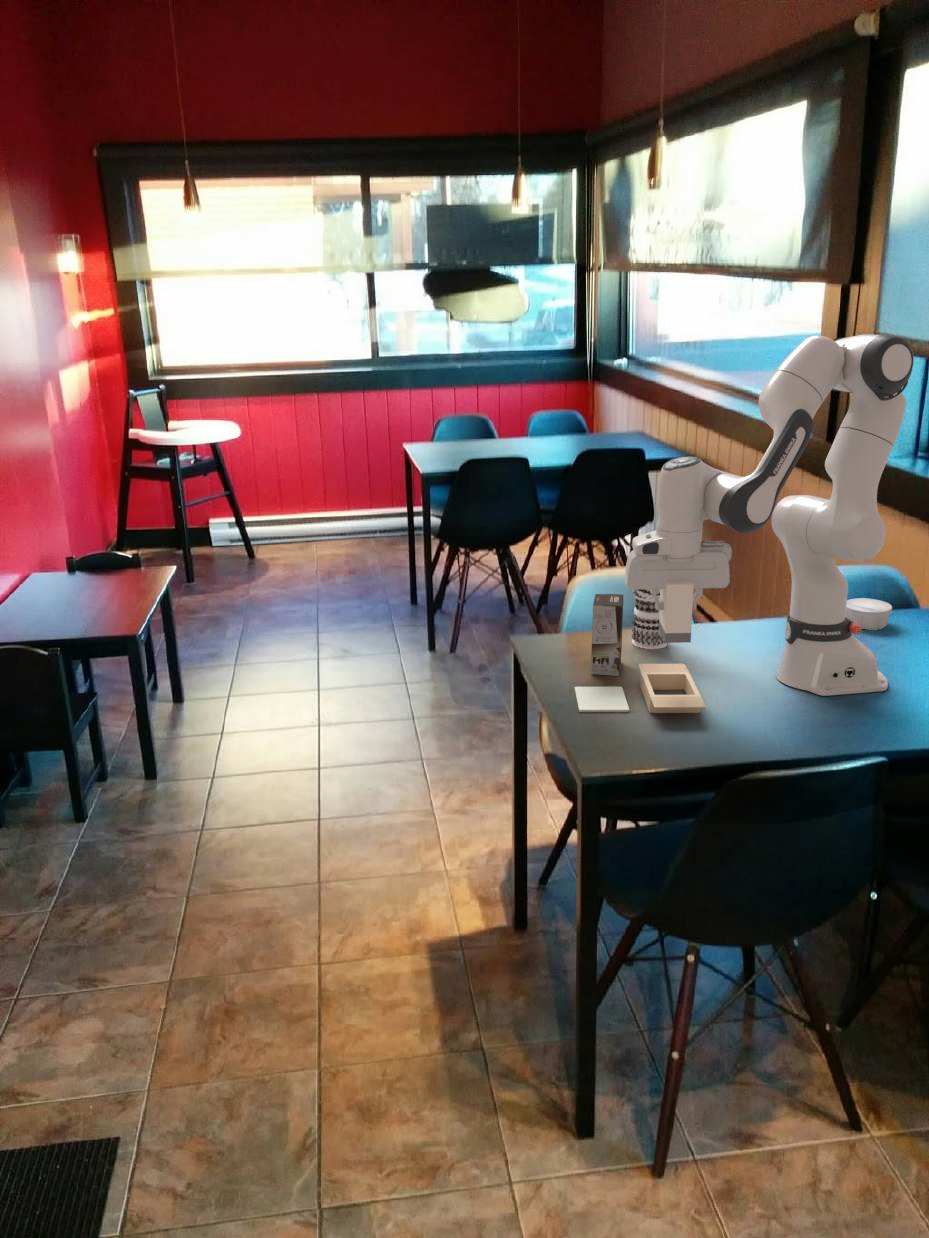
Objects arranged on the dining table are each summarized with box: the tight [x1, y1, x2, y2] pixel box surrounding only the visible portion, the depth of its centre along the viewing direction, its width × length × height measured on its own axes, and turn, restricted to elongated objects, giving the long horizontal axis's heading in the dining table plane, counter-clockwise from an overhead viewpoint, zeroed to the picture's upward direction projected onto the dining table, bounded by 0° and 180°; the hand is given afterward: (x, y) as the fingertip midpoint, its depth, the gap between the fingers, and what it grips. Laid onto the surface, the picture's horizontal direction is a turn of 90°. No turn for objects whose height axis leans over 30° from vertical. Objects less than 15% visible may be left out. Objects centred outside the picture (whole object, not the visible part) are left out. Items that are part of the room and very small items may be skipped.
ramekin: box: [845, 597, 893, 631], centre depth 247 cm, size 11×11×5 cm
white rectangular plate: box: [573, 686, 630, 713], centre depth 206 cm, size 10×12×1 cm
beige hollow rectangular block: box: [637, 663, 707, 714], centre depth 205 cm, size 10×23×4 cm, turn 179°
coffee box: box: [590, 593, 624, 677], centre depth 220 cm, size 9×6×16 cm
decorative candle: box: [631, 589, 669, 650], centre depth 233 cm, size 9×9×25 cm
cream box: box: [659, 581, 694, 644], centre depth 199 cm, size 5×8×12 cm, turn 179°
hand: (675, 609), depth 199 cm, fingers closed on cream box, 5 cm apart
